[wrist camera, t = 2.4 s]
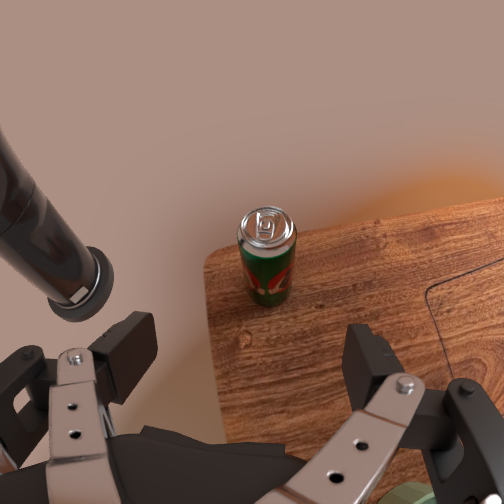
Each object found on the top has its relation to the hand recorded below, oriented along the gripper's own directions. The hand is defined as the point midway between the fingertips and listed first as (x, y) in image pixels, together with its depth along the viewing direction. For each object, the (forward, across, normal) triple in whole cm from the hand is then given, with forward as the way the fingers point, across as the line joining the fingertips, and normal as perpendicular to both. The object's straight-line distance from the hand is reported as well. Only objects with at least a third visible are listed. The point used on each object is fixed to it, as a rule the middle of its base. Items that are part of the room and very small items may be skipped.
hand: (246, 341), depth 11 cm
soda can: (+22, 0, +6) cm, 23 cm away
